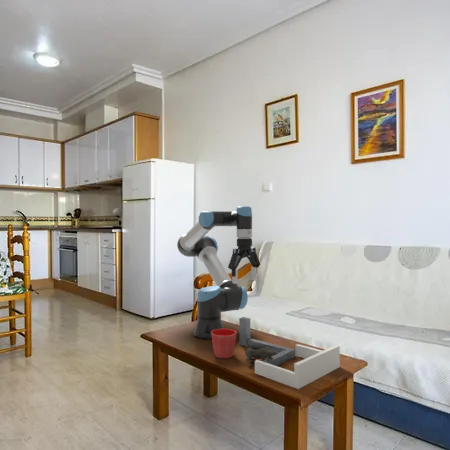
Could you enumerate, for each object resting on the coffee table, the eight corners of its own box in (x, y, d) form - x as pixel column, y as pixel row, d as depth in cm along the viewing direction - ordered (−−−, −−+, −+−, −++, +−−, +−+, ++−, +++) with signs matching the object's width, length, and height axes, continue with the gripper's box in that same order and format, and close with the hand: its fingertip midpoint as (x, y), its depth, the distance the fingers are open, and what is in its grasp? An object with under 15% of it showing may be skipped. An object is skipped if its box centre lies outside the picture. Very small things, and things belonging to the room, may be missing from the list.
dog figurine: (245, 366, 143) (245, 347, 143) (245, 361, 149) (244, 342, 149) (276, 366, 143) (276, 346, 143) (275, 360, 148) (274, 342, 148)
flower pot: (239, 351, 159) (239, 329, 160) (233, 360, 149) (232, 336, 149) (215, 349, 162) (215, 327, 162) (207, 358, 152) (207, 334, 152)
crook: (215, 354, 157) (214, 325, 157) (243, 343, 171) (243, 317, 171) (268, 370, 139) (268, 338, 139) (295, 356, 153) (295, 327, 153)
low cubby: (254, 373, 136) (254, 351, 136) (297, 354, 155) (297, 335, 155) (298, 389, 122) (298, 364, 122) (339, 367, 141) (339, 345, 141)
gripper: (231, 239, 170) (232, 285, 170) (266, 237, 187) (267, 279, 187) (220, 238, 175) (220, 283, 175) (255, 237, 192) (255, 278, 192)
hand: (244, 281), depth 181 cm, fingers open, 13 cm apart
